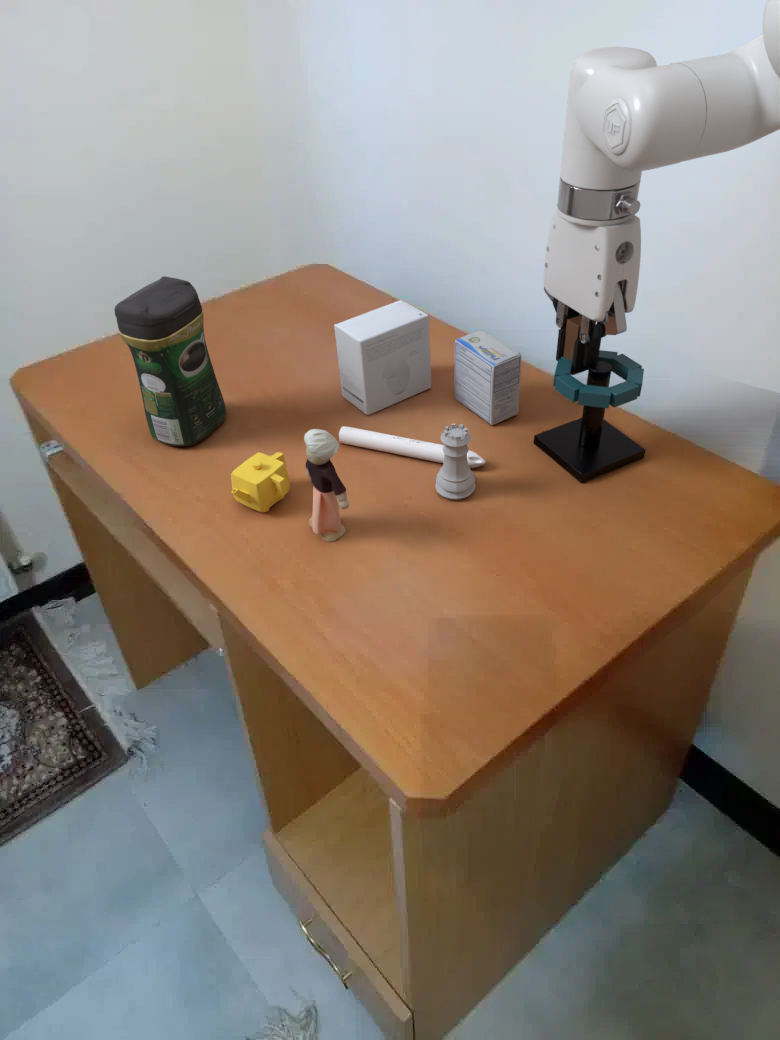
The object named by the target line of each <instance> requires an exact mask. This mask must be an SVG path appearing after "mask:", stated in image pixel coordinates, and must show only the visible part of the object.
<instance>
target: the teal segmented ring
mask: <svg viewBox="0 0 780 1040" xmlns="http://www.w3.org/2000/svg"><path fill="white" fill-rule="evenodd" d="M581 320H582V315H580V316H576V317H573V318H570V319H567V325H566V334H565V343H564V351H563V357H561V360H558V361H557V363H556V367H555V371H554V375H553V383H552V387H554V390H555V391H556V392H557V393H559V394H560V395H561V396H562V397H564V398H566V399H567V400H568V401H570V402H571V403H574V404H575V403H576V402H577V405H578V406H593V407H601V408H605V409H609V408H610V406H611V407H612V408H617V407H619V406H623V405H625V404H628V403H630V402H633V401H635V400H637V399H638V397H639V398H640V397H641V394H642V393H641V392H642V388H643V382H644V373H645V369H644V368H643V365H641V364H640V363H638V361H635V360H633V359H632V358H630V356H629V357H628V355H625V354H624V353H619V352H618V351H612V350H604V349H603V350H602V349H600V351H599V358H598V361H603V362H607V363H609V364H610V365H611V366H612V370H611V373H613V374H615V375H616V376H618V377H619V378H621V379H623V380H624V381H623V382H620V383H616V384H615V385H612V386H611V385H610V386H609V387H601V386H592V385H586V384H585V383H583V382H581V381H580V380H578V379H577V378H576V377H575V375H576V374H575V373H574V372H572V360H573V352H574V344H575V340H578V339H580V328H581ZM596 324H597V322H596V321H593V324H592V327H593V326H594V325H596ZM618 353H619V354H618Z"/></svg>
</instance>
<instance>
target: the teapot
mask: <svg viewBox="0 0 780 1040" xmlns="http://www.w3.org/2000/svg"><path fill="white" fill-rule="evenodd" d="M285 459H286V458H285V454H284V453H283V452H280V451H277V452H274V454H272V455H268V454H265V453H262V452H259V451H258V452H256V453H255V454H253V455H252V456H250V457H248V458H247V459H246V460H245V461H243V462H242V463H241V464H240V465H238V466H237V467H236V468H235V469H234V470H233V471H232V472H231V473H230V479H231V488H232V490H231V491H230V493H231V494H232V495H233V497H234V500H235V501H236V502H237V503H239V504H242V505H243V506H245V507H248V508H249V509H252V510H255V511H257V512H259V513H268V512H269V511H270V508H271V507H273V505H275V504H276V503H278V501H281V500H283V499H285V496H286V495H287V494H288V493H289V491H290V490H291V481H290V477H289V473H288V469H287V464H286V460H285Z"/></svg>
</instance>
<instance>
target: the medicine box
mask: <svg viewBox="0 0 780 1040" xmlns="http://www.w3.org/2000/svg"><path fill="white" fill-rule="evenodd" d="M521 372H522V354H521V353H520V352H518V351H517V350H515V349H513V347H510V346H509V345H507V344H506V343H504V342H503V341H501V340H500V339H498V338H496V337H495V336H493V335H491V334H490V333H488V332H486V331H485V330H483V329H481V330H478V331H474V332H472V333H469V334H466V335H464V336H461V337H459V338H457V339H455V340H454V382H453V383H454V387H453V389H454V399H455V400H456V401H458V402H459V403H460V404H462V405H463V406H465V407H466V408H468V409H469V410H470V411H472V412H473V413H474V414H476V416H479V417H480V418H481V419H482V420H483V421H485V422H487V423H488V424H489V425H490V426H494V425H496V424H499V423H500V422H501V423H502V422H504V421H506V420H508V419H509V418H512V417H515V416H517V415H519V408H520V407H519V406H520V392H521V391H520V390H521V374H522V373H521Z"/></svg>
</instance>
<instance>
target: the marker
mask: <svg viewBox="0 0 780 1040" xmlns="http://www.w3.org/2000/svg"><path fill="white" fill-rule="evenodd" d="M338 443H341V444H343V445H348V446H355V447H360V448H365V449H369V450H373V451H374V450H375V451H380V452H383V453H390V454H395V455H400V456H404V457H410V458H414V459H420V460H423V461H424V460H425V461H429V462H430V461H431V462H434V463H438V464H439V463H440V464H443V462H444V452H443V450H442V449H443V446H444V445H445V444H442V443H435V442H431V441H425V440H420V439H415V438H409V437H404V436H399V435H394V434H388V433H383V432H377V431H373V430H367V429H362V428H357V427H352V426H344V425H343V426H341V427H340V429H339V432H338ZM467 461H468V467H469V468H470V469H473V468H478V467H481V466H483V465H485V464H486V463H487V462H486V460H485V459H484V458H483V457H481V456H480V454H477V453H476V452H475V451H473V450H470V449H469V451H468V453H467Z"/></svg>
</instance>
